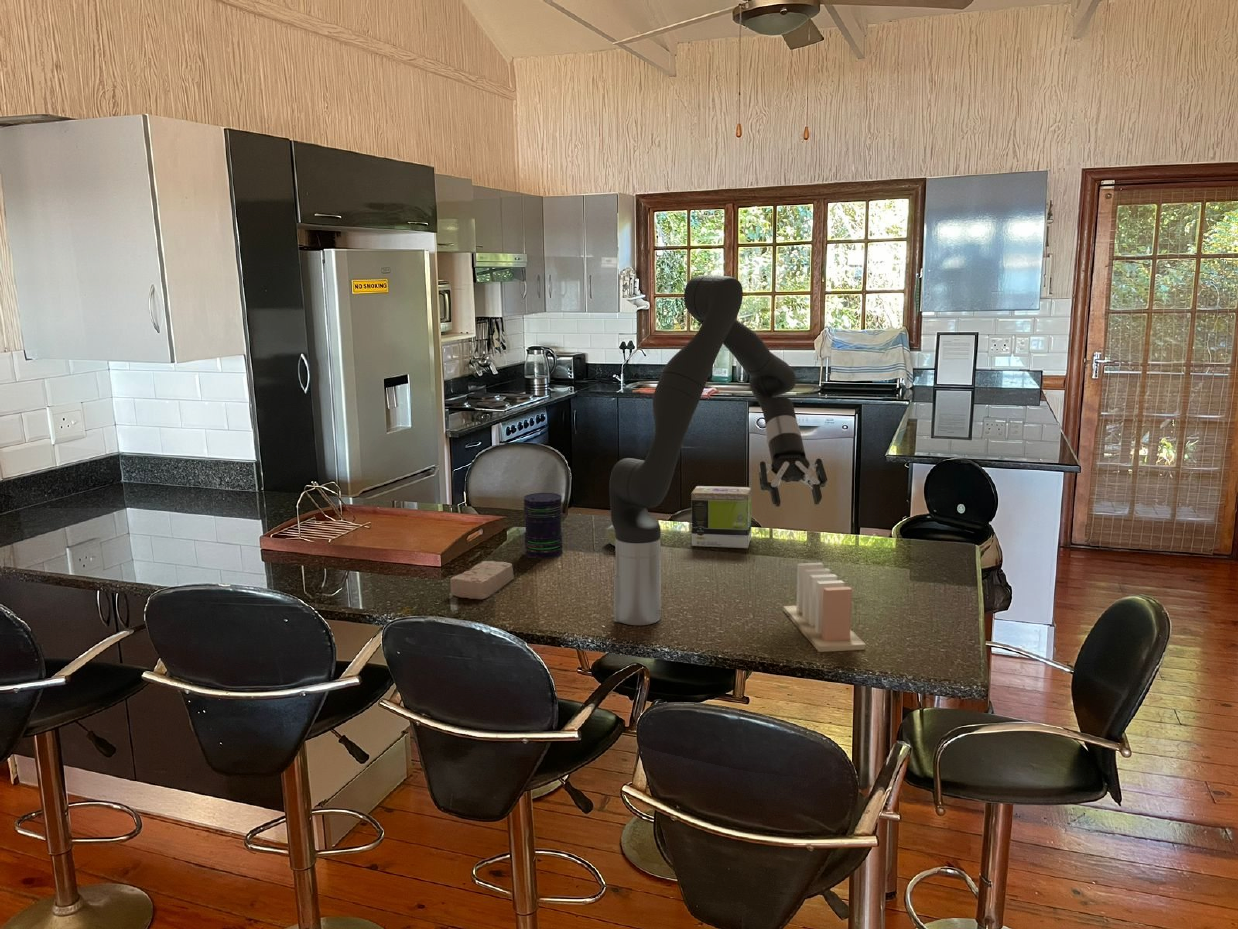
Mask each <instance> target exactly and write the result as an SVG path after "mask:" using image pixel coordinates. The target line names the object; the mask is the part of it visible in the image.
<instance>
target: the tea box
mask: <svg viewBox="0 0 1238 929" xmlns="http://www.w3.org/2000/svg"><path fill="white" fill-rule="evenodd" d="M690 495H691V496H690V498H691V499H690V500H691V502H690V503H691V506H690V507H691V508H690V509H691V514H690V516H691V546H692V547H711V548H712V547H713V548H714V547H715V548H733V549H734V548H735V549H748V548H749V545H750V543H751V539H752V487H751V486H720V485H719V486H717V485H713V486H712V485H711V486H709V485H708V486H707V485H706V486H705V485H697V486H695V488H694V489H693V491H692V492H691V494H690Z"/></svg>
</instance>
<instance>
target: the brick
mask: <svg viewBox="0 0 1238 929" xmlns="http://www.w3.org/2000/svg"><path fill="white" fill-rule="evenodd" d="M513 569H514V568H513V563H511V562H506V561H493V560H492V561H491V560H490V561H488V560H483V561H481V562H480V563H478V564H475V565H474V566H473V567H472V568H470V569H469V570H466V571H464V572H462V573H459V574H457V575H454V576H452V577H451V578H450V580H449V583H450V592H451V594H452V596H455V597H458V598H462V599H463V598H467V599H470V600H471V599H475V600H484V599H487V598H490V597H491V596H492V595H494V594H495V593H496V592H498V591H499V590H500V589H502V588H503V587H505V586H506V585H507V584H510V582H511V581H512V580H514V578H515V577H514V570H513Z"/></svg>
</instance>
